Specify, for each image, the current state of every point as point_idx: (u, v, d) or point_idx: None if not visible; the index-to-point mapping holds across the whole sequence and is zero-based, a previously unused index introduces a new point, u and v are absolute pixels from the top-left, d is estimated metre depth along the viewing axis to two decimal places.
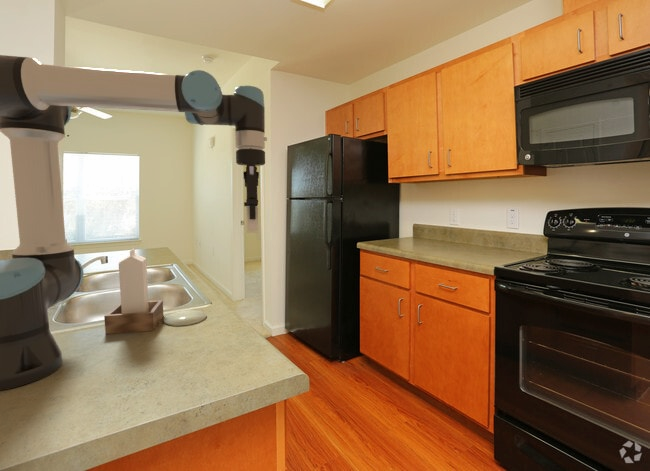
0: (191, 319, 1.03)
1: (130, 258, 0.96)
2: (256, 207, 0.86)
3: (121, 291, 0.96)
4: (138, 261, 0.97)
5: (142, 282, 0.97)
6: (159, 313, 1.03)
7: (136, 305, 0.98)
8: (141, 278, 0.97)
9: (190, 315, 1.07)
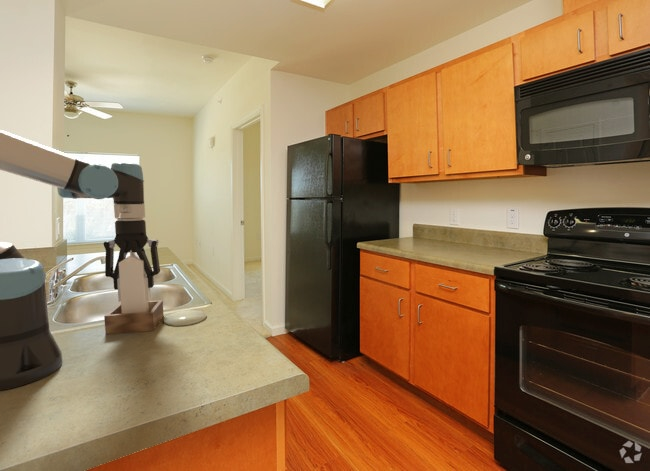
0: (191, 319, 1.03)
1: (130, 258, 0.96)
2: None
3: (121, 291, 0.96)
4: (138, 261, 0.97)
5: (142, 282, 0.97)
6: (159, 313, 1.03)
7: (136, 305, 0.98)
8: (141, 278, 0.97)
9: (190, 315, 1.07)
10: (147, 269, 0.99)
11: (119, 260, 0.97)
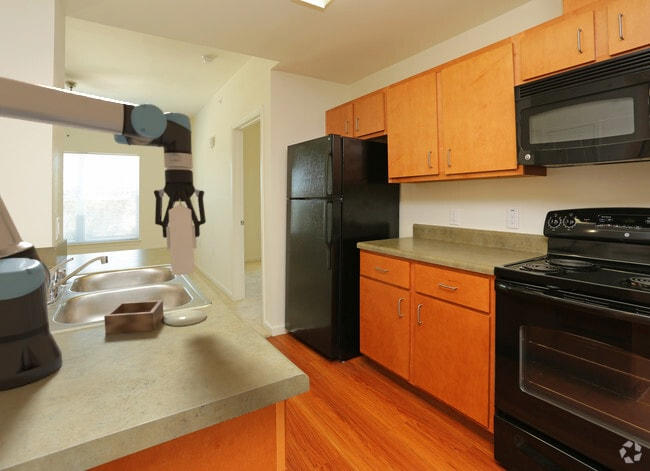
0: (191, 319, 1.03)
1: (179, 206, 1.00)
2: None
3: (171, 238, 0.99)
4: (187, 209, 1.00)
5: (190, 230, 1.01)
6: (159, 313, 1.03)
7: (184, 252, 1.01)
8: (189, 226, 1.00)
9: (190, 315, 1.07)
10: (194, 218, 1.02)
11: (168, 208, 1.00)
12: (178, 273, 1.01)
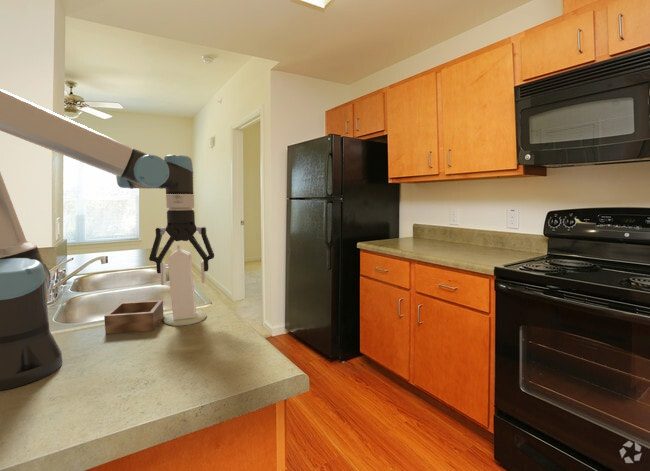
0: (191, 319, 1.03)
1: (177, 252, 1.01)
2: None
3: (171, 284, 1.01)
4: (185, 255, 1.01)
5: (189, 275, 1.02)
6: (159, 313, 1.03)
7: (185, 297, 1.02)
8: (188, 271, 1.02)
9: None
10: (202, 254, 1.04)
11: (166, 246, 1.01)
12: (180, 318, 1.02)
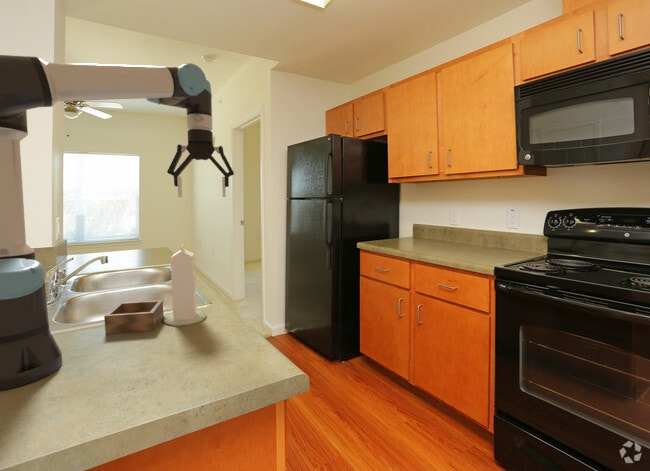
0: (191, 319, 1.03)
1: (181, 253, 1.01)
2: None
3: (172, 284, 1.01)
4: (188, 256, 1.01)
5: (192, 276, 1.02)
6: (159, 313, 1.03)
7: (186, 298, 1.02)
8: (191, 272, 1.02)
9: None
10: (223, 170, 1.13)
11: (185, 162, 1.10)
12: (180, 318, 1.02)
